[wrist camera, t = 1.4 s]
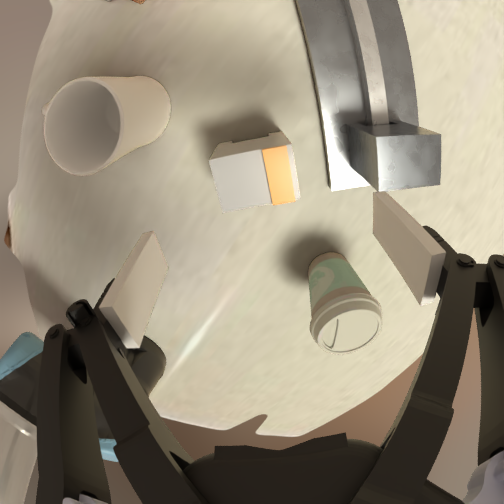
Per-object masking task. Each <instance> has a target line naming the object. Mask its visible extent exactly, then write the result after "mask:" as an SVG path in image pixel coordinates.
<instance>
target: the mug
mask: <svg viewBox="0 0 504 504" xmlns="http://www.w3.org/2000/svg"><path fill="white" fill-rule="evenodd" d="M42 114H43V115H44V116H45V119H44V139H45V144H46V147H47V150H48V152H49V154H50V156H51V158H52V159H53V161H54V162H55V163H56V164H57V165H58V166H59V167H60V168H61V169H63V170H64V171H66V172H68V173H70V174H73V175H78V176H87V175H91V174H94V173H97V172H99V171H101V170H102V169H104V168H105V167H107V166H109V165H110V164H112V163H113V162H115V161H117V160H118V159H120V158H121V157H123V156H125V155H126V154H128V153H130V152H131V151H133V150H135V149H137V148H138V147H141V146H145V145H147V144H150V143H151V142H153V141H154V140H156V139H157V138H158V137H159V136H160V135H161V134H162V133H163V131H164V130H165V128H166V126H167V124H168V122H169V119H170V114H171V103H170V99H169V96H168V93H167V91H166V90H165V88H164V87H163V86H162V85H161V84H160V83H159V82H158V81H156V80H154V79H152V78H150V77H146V76H133V77H81V78H77V79H74V80H72V81H70V82H68V83H67V84H65V85H64V86H63V87H61V88H60V89H59V90H58V91H57V93H56V94H55V95H54V97H53V98H52V100H51V101H50V102H49V103H47V104H45V105H44V106H43V109H42Z"/></svg>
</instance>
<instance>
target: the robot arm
mask: <svg viewBox="0 0 504 504" xmlns="http://www.w3.org/2000/svg"><path fill="white" fill-rule="evenodd" d="M373 234H374V236H375V237H376V239H377V240H378V241H379V243H380V244H381V246H382V247H383V249H384V250H385V252H386V253H387V254H388V256H389V257H390V259H391V260H392V262H393V263H394V265H395V266H396V268H397V269H398V271H399V272H400V274H401V275H402V277H403V279H404V280H405V282H406V283H407V285H408V287H409V288H410V290H411V291H412V293H413V295H414V296H415V298H416V300H417V301H418V303H419V305H420V306H422V305H426V304H429V303H433V302H434V299H435V296H436V292H437V293H438V295H439V296H440V301H439V304H438V308H437V311H436V314H435V315H436V316H435V319H434V323H433V326H432V329H431V332H430V336H429V339H428V342H427V345H426V348H425V350H424V353H423V356H422V359H421V362H420V364H419V367H418V369H417V372H416V374H415V377H414V380H413V382H412V384H411V387H410V389H409V391H408V393H407V396H406V398H405V400H404V402H403V405H402V407H401V409H400V411H399V413H398V415H397V417H396V419H395V421H394V423H393V425H392V427H391V428H390V430H389V432H388V434H387V435H386V437H385V439H384V440H383V442H382V444H381V446H380V447H378V446H376V445H374V444H372V443H369V442H366V441H362V440H356V439H347V438H346V433H341V434H337V435H331V436H326V437H320V438H314V439H311V440H308V441H306V442H303V443H300V444H298V445H295V446H292V447H290V448H287V449H284V450H270V449H264V448H258V447H252V446H246V445H244V446H215V453H212V454H209V455H206V456H203V457H202V458H199V459H197V460H196V461H194V460H193V459H192V458H191V457H190V456H189V455H188V454H187V453H186V452H185V451H184V449H183V448H182V447H181V445H180V444H179V443H178V441H177V440H176V439H175V437H174V436H173V434H172V433H171V432H170V430H169V429H168V427H167V426H166V424H165V423H164V421H163V420H162V418H161V417H160V415H159V414H158V412H157V411H156V409H155V408H154V406H153V404H152V403H151V401H150V400H149V394H150V393H151V391H152V390H153V388H154V387H155V385H156V384H157V382H158V380H159V379H160V378H161V377H162V376H163V373H164V370H165V366H166V358H165V355H164V353H163V352H162V350H161V349H160V348H159V347H158V346H157V345H156V344H155V343H154V342H152V341H151V340H149V339H148V338H146V337H145V336H144V333H145V331H146V328H147V325H148V322H149V319H150V316H151V314H152V311H153V308H154V305H155V303H156V300H157V297H158V295H159V292H160V289H161V287H162V284H163V281H164V279H165V276H166V274H167V271H168V269H169V267H168V264H167V262H166V260H165V257H164V255H163V252H162V250H161V247H160V245H159V243H158V240H157V237H156V235H155V232H154V231H151V232H147V233H143V234H142V236H141V237H140V239H139V240H138V242H137V244H136V245H135V247H134V248H133V250H132V251H131V253H130V255H129V256H128V258H127V260H126V261H125V263H124V264H123V266H122V268H121V269H120V271H119V273H118V275H117V276H116V278H114V279H113V280H112V281H111V282H110V283H109V284H108V285H107V286H106V288H105V290H104V292H103V293H102V295H101V298H100V299H99V300H98V302H97V304H96V306H95V307H94V309H92V307H91V306H90V304H89V303H88V301H87V300H84V299H82V300H79V301H77V302H75V303H73V304H72V305H71V306H70V307H69V308H68V310H67V312H66V317H67V318H68V319H69V321H70V322H71V324H72V325H73V326H74V328H73V329H70V330H66V329H65V328H64V326H63V325H62V324H57V325H55V326H53V327H51V328H50V329H49V330H48V332H47V333H46V336H45V340H44V342H43V341H42V340H41V339H39V338H38V337H37V336H36V335H34V334H33V333H30V332H25V333H23V334H21V335H20V336H19V337H18V339H16V341H15V342H14V343H13V344H12V345H11V347H10V348H9V349H8V350H7V352H6V353H5V354H4V356H3V357H2V358H1V359H0V504H23V503H24V500H25V496H26V491H27V488H28V484H29V481H30V477H31V474H32V471H33V468H34V464H35V461H36V458H38V471H39V481H38V488H37V496H36V504H111V497H110V490H109V485H108V481H107V477H106V472H105V468H104V463H103V459H105V460H110V461H115V462H119V463H120V465H121V467H122V469H123V471H124V473H125V474H126V476H127V478H128V480H129V482H130V483H131V485H132V487H133V489H134V490H135V492H136V493H137V495H138V496H139V498H140V500H141V501H142V503H143V504H504V256H502V255H491V256H490V258H489V260H488V263H487V264H476V262H475V260H474V259H473V258H472V257H470V256H468V255H466V254H460V253H459V254H457V253H456V252H455V251H454V250H453V248H452V247H451V246H450V245H449V244H448V243H447V242H446V241H444V239H443V238H442V237H441V236H440V235H439V234H438V233H437V232H436V231H435V230H434V229H432V228H430V227H428V226H421V225H420V224H419V223H418V222H417V221H416V220H415V219H414V218H413V217H412V216H411V215H410V214H409V213H408V212H407V211H406V210H405V209H404V208H403V207H401V206H400V205H399V204H398V203H397V202H396V201H395V200H394V199H393V198H392V197H391V196H390V195H388V194H387V193H386V192H385V191H381V192H373ZM473 308H475V314H476V322H477V329H478V338H479V348H480V362H481V420H480V432H479V444H478V445H479V446H478V467H477V468H476V469H475V471H474V472H473V474H472V476H471V479H470V481H469V482H468V485H467V487H468V492H467V495H466V497H465V498H464V499H463V501H461V500H460V499H458V498H456V497H455V496H453V495H451V494H450V493H448V492H446V491H445V490H443V489H441V488H440V487H438V486H437V485H435V484H433V483H432V482H430V481H429V480H427V476H428V474H429V472H430V471H431V468H432V466H433V464H434V462H435V460H436V458H437V455H438V453H439V451H440V448H441V446H442V444H443V441H444V439H445V436H446V434H447V431H448V428H449V426H450V423H451V420H452V417H453V413H454V409H453V408H452V403H453V400H454V397H455V393H456V390H457V386H458V383H459V379H460V376H461V372H462V367H463V363H464V359H465V354H466V350H467V345H468V339H469V334H470V328H471V321H472V314H473Z"/></svg>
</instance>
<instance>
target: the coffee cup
mask: <svg viewBox="0 0 504 504" xmlns="http://www.w3.org/2000/svg"><path fill="white" fill-rule="evenodd" d="M308 277H309V290H310V302H311V316H312V319H311V322H310V332H311V335H312V337H313V339H314V340H315V342H316V343H317V344H318V345H319V347H320V348H321V349H322V350H323V351H325V352H327V353H330V354H337V355H341V354H349V353H353V352H356V351H358V350H360V349H362V348H364V347H366V346H367V345H369V344H370V343H371V342H372V341H374V340H375V338H376V337H377V336H378V334H379V333H380V331H381V328H382V310H381V306H380V303H379V302H378V300H377V299H375V298H374V297H372V295H371V294H370V292H369V291H368V290H367V288H366V287H365V285H364V284H363V282H362V281H361V279H360V278H359V277H358V275H357V274H356V272H355V271H354V269H353V268H352V267H351V265H350V264H349V263H348V261H347V260H346V259H345V257H344V256H342V255H341V254H339V253H335V252H328V253H324V254H321V255H319V256H318V257H316V258H315V259H314V260H313V261H312V262H311V264H310V266H309V269H308Z"/></svg>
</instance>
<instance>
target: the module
mask: <svg viewBox="0 0 504 504" xmlns="http://www.w3.org/2000/svg"><path fill="white" fill-rule="evenodd" d="M268 135H269V136H267V137H262V138H256V139H251V140H246V141H241V142H237V143H233V142H232V141H228V142H223V143H219V144H218V146H217V147H216V149H215V151H214V152H213V154H212V155H211V157H210V159H209V164H210V168H211V172H212V175H213V179H214V183H215V186H216V190H217V194H218V197H219V201H220V205H221V208H222V212H223V213H226V212H231V211H236V210H241V209H246V208H252V207H257V206H262V205H268V204H273V205H278V204H284V203H289V202H295V200H296V199H300V192H299V185H298V178H297V172H296V166H295V160H294V154H293V148H292V143H291V142H290V141H289V140H288V138H287V137H286V136H285V135H284V133H283V132H282V131H279V132H274V133H268Z"/></svg>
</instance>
